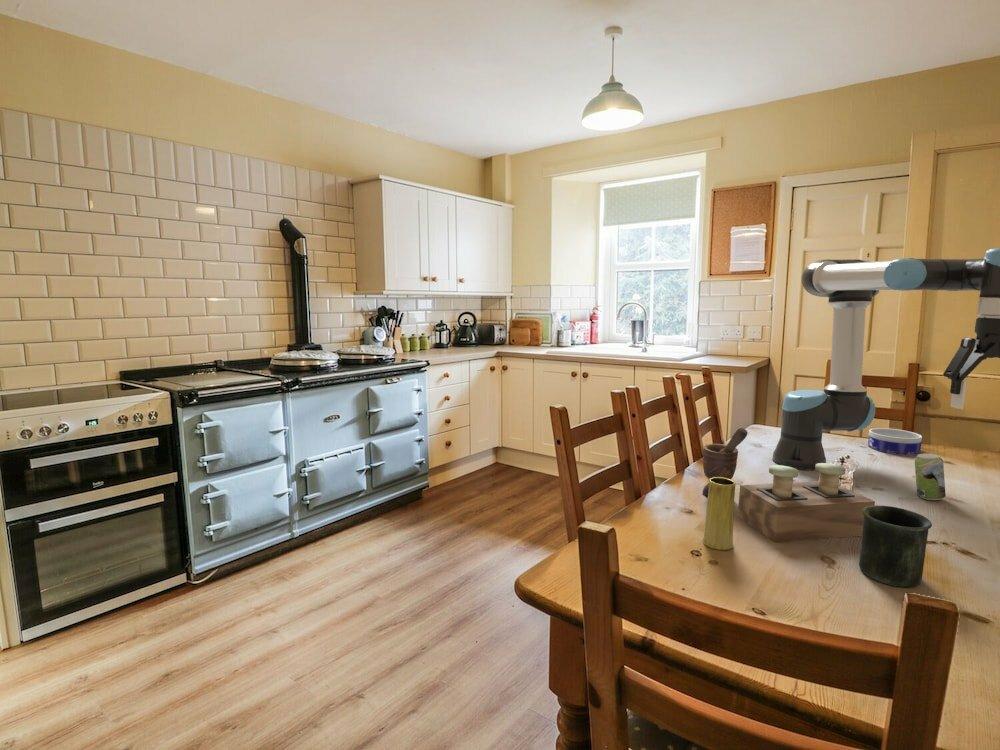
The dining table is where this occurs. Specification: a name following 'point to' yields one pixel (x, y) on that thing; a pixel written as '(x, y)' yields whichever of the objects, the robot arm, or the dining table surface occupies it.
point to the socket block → (802, 512)
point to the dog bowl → (894, 441)
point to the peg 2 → (829, 477)
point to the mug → (893, 545)
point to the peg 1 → (782, 480)
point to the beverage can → (930, 476)
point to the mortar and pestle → (722, 458)
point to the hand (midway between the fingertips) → (984, 408)
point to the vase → (719, 514)
